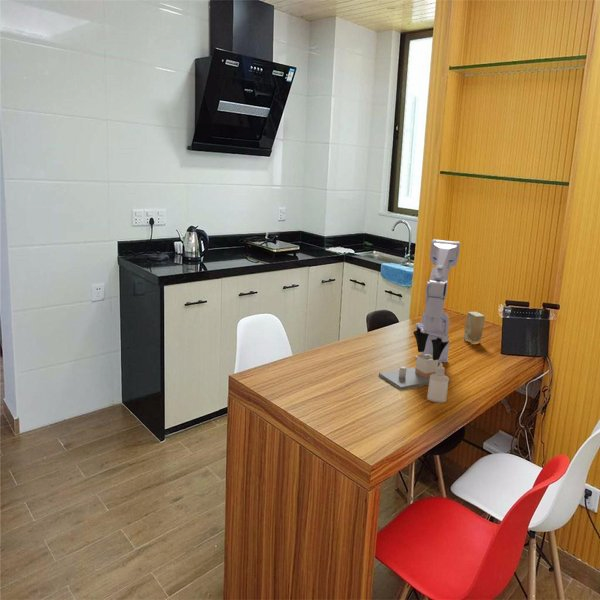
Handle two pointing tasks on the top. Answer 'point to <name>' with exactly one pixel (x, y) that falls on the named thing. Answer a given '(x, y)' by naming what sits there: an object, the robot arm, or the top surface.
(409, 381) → the pin board
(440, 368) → the eye dropper bottle
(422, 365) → the sleeve
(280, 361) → the top surface
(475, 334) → the skincare box
